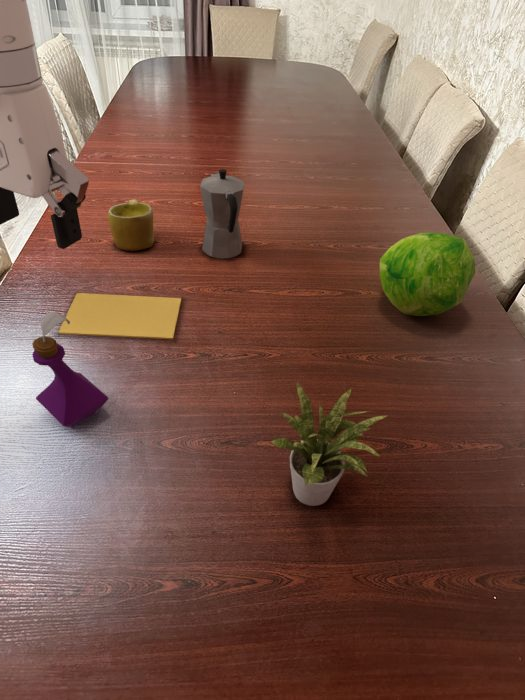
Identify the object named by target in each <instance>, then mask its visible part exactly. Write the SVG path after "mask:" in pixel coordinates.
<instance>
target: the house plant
mask: <svg viewBox="0 0 525 700" xmlns="http://www.w3.org/2000/svg"><path fill="white" fill-rule="evenodd" d="M295 384H296V390H297V396H298V403H299V407H300V414H301V415H300V416H301V417H300V416H298V415H296V414H295V415H294V417H292V416H291V415H289V414H288V413H285V412H282V411H278V413H279V414H280V415H281V416H282V417H283V418H285V419H286V421H287V422H288V424H289V425H290V426H291V427H292V428H293V429H294V430H295V431H296V432H297V434H298V436H299V438H300V441H294V440H291V439H289V438H286V437H278V438H275V439H273V440H270V441H269V443H271V445H273V446H275V447H277V448H278V449H279V448H280V449H284V450H289V451H290V454H289V468H290V475H291V484H292V490H293V495H294V496H295V498H296V500H298V501H299V502H300V503H302V504H304V505H306V506H311V507H316V506H321V505H323V504H324V503H326V502H327V501H328V500H329V498H330V496H331V495H332V493H333V491H334V489H335V488H336V486H337V484H338V483H339V482H340V479H341V478H342V476H343V474H344V472H345V470H349V471H354V472H358V473H359V474H361V475H363V476H365V477H367V478H369V476H368V474H367V473H368V470H367V467H366V464H365V462H364V461H363V459H362V458H360V457H359V456H356V455H354V454H350V453H342V452H341V450H343V449H346V448H347V449H348V448H349V449H351V448H352V449H356V450H362V451H367V452H369V453H371V454H372V455H374V456H376V457H377V456H378V457H380V458H382V456H381V455H380V454H379V453H378V452H377V451H376V450H374V449H373V448H372V447H370V446H369V445H368V444H366V443H363V442H360V441H358V440H359V439H360V438H361V437H362V436H364V433H363V432H367V431H369V430H371V429H372V428H371V427H372V426H373V427H374V426H376V425H378V424H379V422H378V421H381V420H383V419H386V418H387V417H388V416H390V414H385V415H384V414H383V415H377V416H376V415H375V416H373V417H372V416H371V417H369V418H367V419H364V420H362V421H360V422H358V423H356V422H354V421H352V420H351V419H343V418H344V417H347V416H353V415H354V416H355V415H358V414H359V415H360V414H364V413H369V412H373V411H374V410H365V411H352V412H347V413H346V411H347V403H348V400H349V398H350V396H351V393H352V389H353V387H351V388H349V389H347V390H346V391H345V392H344V393H342V395H341V396H339V398H338V400H337V401H336V402H335V404H334V406H333V407H332V409H331V410H330V412H329V413H328V414H327V416H325V413H324V409H323V406H322V403H321V401H320V400H319V402H318V430H317V431H318V433H317V432H316V429H315V420H314V419H315V418H314V413H313V406H312V401H311V400H310V398H309V397H308V396H307V394H306V392H305V390H304V388H303V387H302V385H301V384H300V383H299V382H298V380H295ZM377 422H378V423H377ZM336 436H337V437H336ZM346 462H347V463H346Z"/></svg>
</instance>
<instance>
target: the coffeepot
mask: <svg viewBox="0 0 525 700" xmlns="http://www.w3.org/2000/svg"><path fill="white" fill-rule="evenodd" d="M227 172H228V171H227V169H225V168H224V169H223V168H220V169H219V170H218V172H215V173H213V172H211V173H210V176H208V177H204V178H202V180H201V183H200V185H199V186H200V187H199V188H200V193H201V200H202V204H203V211H204V216H206V222H205V229H204V235H203V240H202V248H201V250H202V252H203V253H204V254H206V256H209V257H211V258H214V259H219V260H220V259H221V260H227V259H228V260H229V259H232V258H235V257H237V256H238V255H240V254H242V249H243V241H242V240H243V239H242V234H241V233H242V232H241V225H240V221H239V217H240V211H241V205H242V201H243V200H242V199H243V195H244V190H245V184H246V181H243V180H242V179H240V178H238V177H236V176H235V175H227Z"/></svg>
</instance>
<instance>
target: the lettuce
mask: <svg viewBox="0 0 525 700" xmlns="http://www.w3.org/2000/svg"><path fill="white" fill-rule="evenodd" d="M475 264H476V263H475V256H474V255H473V254H472V251H471V250H470V247H469V245H468V243H467V241H466V239H465V238H462V237H459V236H456V235H452V234H449V233H444V232H419V233H415V234H412V235H409V236H407V237H404V238H401V239H400V240H398V241H397V242H396V243H394V244H393V245H391V246H390V247H389V248H388V249H387V250H386V251H385V253H384V254H383V255H382V256H381V257H380V258H379V280H380V284H381V287H382V292H383V293H384V294H385V296H386V297H387V299H388V300H389V302H390V303H391V305H392V306H393V307H395V308H396V309H397V310H398V311H399V312H400V313H401V314H402V315H405V316H415V317H426V316H436V315H441V314H442V313H445V312H447V311H448V310H450V309H452V308H454V307H457V306H458V305H460V304H461V302H462V301H463V299H464V297H465V295H466V293H467V290H468V288H469V287H470V285H471V283H472V280H473V278H474V276H475V274H476V265H475Z"/></svg>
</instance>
